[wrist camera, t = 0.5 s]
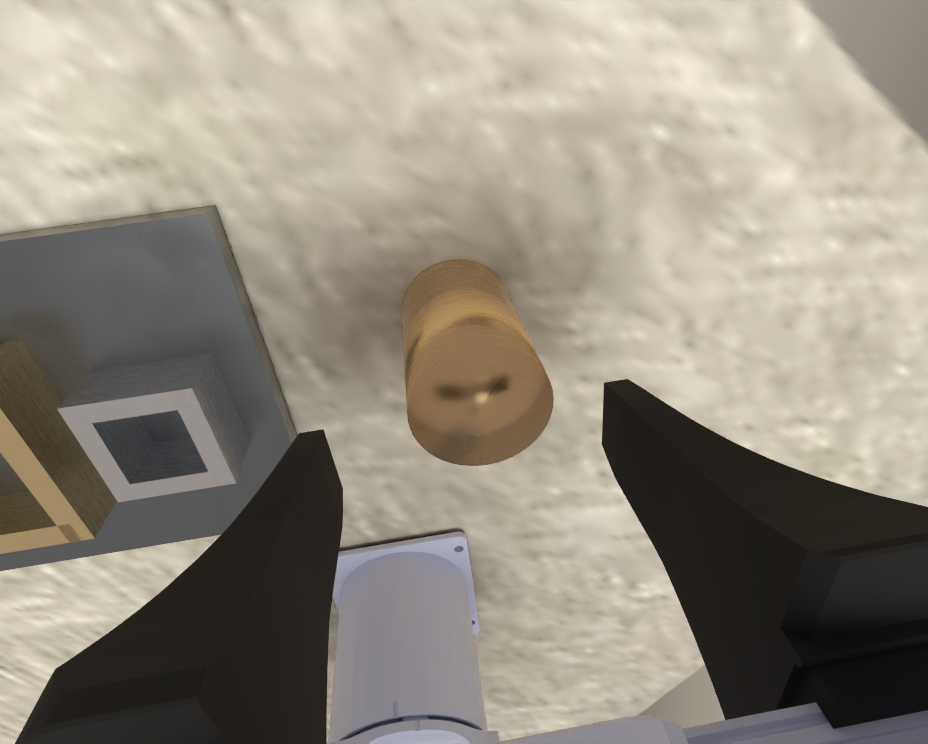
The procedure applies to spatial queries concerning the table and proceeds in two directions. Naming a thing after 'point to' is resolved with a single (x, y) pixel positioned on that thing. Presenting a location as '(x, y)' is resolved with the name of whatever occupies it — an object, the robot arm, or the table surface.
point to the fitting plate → (129, 388)
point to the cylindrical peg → (470, 367)
